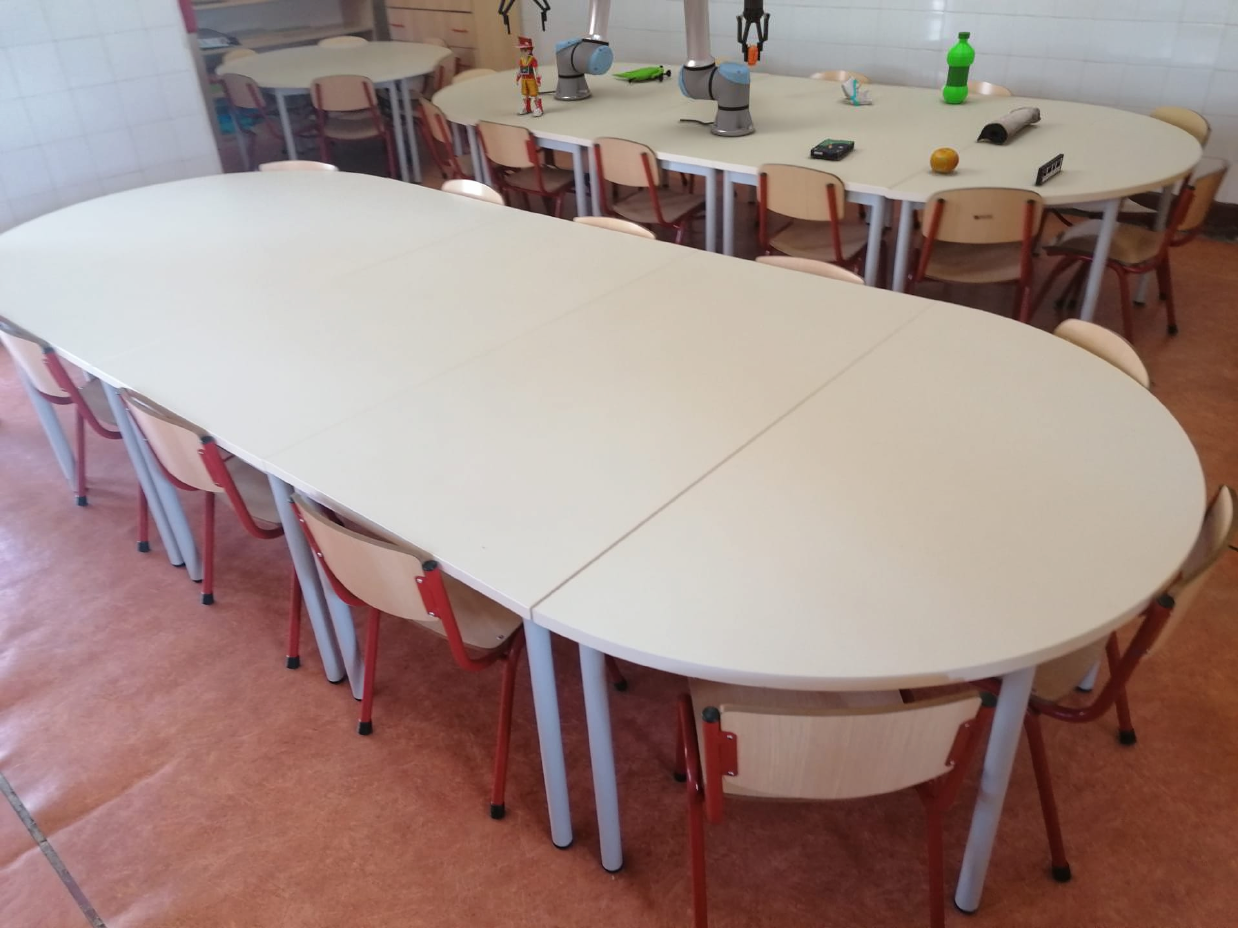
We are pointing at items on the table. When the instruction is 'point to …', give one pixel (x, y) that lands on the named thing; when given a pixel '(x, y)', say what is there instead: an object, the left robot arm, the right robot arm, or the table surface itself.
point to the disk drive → (832, 149)
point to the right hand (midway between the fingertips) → (751, 61)
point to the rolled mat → (1009, 124)
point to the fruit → (944, 160)
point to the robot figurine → (752, 55)
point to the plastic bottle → (958, 69)
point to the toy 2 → (645, 74)
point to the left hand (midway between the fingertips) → (526, 32)
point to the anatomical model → (855, 92)
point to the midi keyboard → (1049, 169)
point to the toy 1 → (529, 77)
